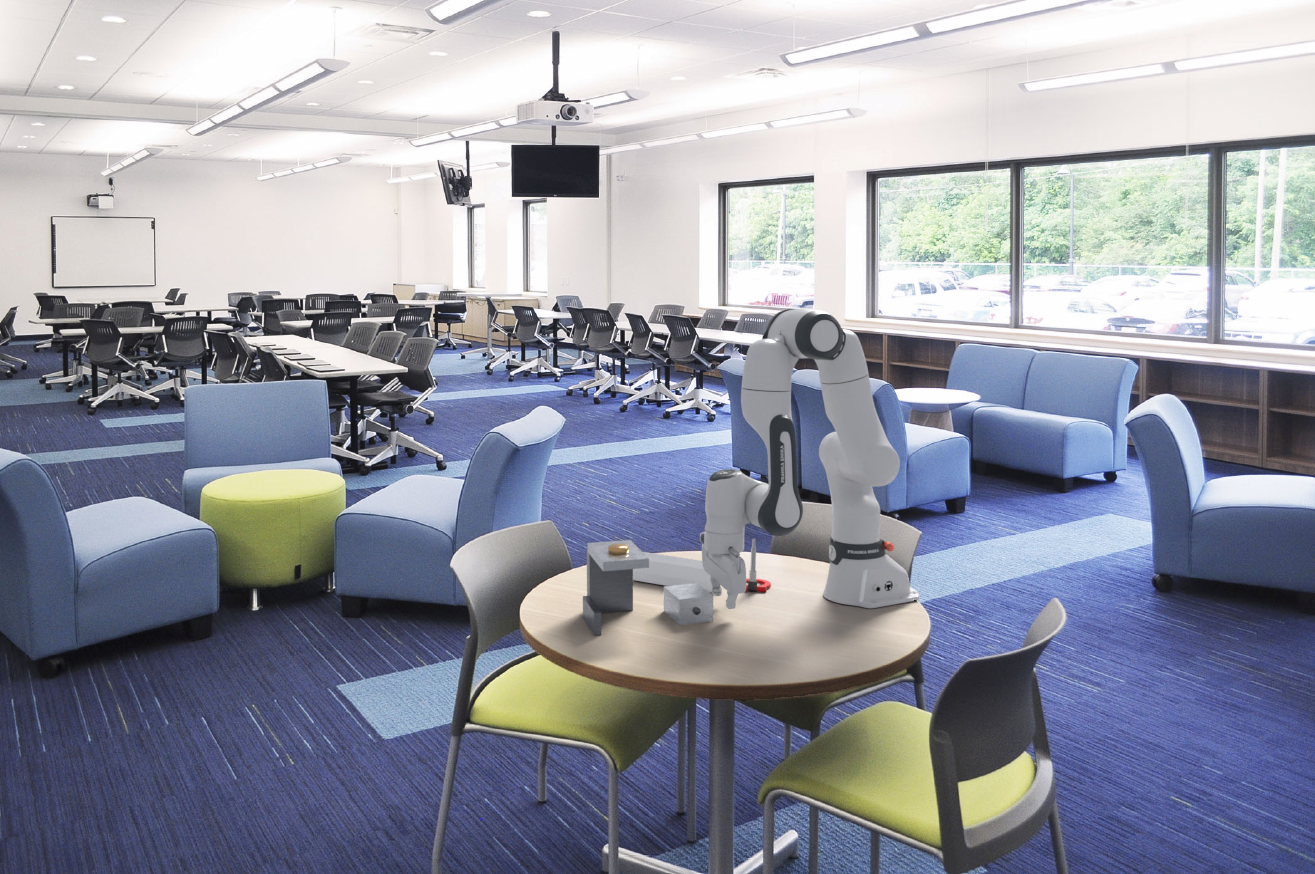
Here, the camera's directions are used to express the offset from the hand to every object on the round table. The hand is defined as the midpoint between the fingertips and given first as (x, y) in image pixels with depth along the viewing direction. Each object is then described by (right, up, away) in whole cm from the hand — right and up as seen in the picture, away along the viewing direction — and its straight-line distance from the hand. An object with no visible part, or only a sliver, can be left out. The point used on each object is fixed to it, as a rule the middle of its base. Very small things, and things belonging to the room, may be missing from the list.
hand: (723, 601), depth 239 cm
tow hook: (+9, 0, +20) cm, 22 cm away
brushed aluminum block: (-8, -3, -2) cm, 9 cm away
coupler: (-25, -3, -5) cm, 25 cm away
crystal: (-10, 0, +22) cm, 25 cm away
